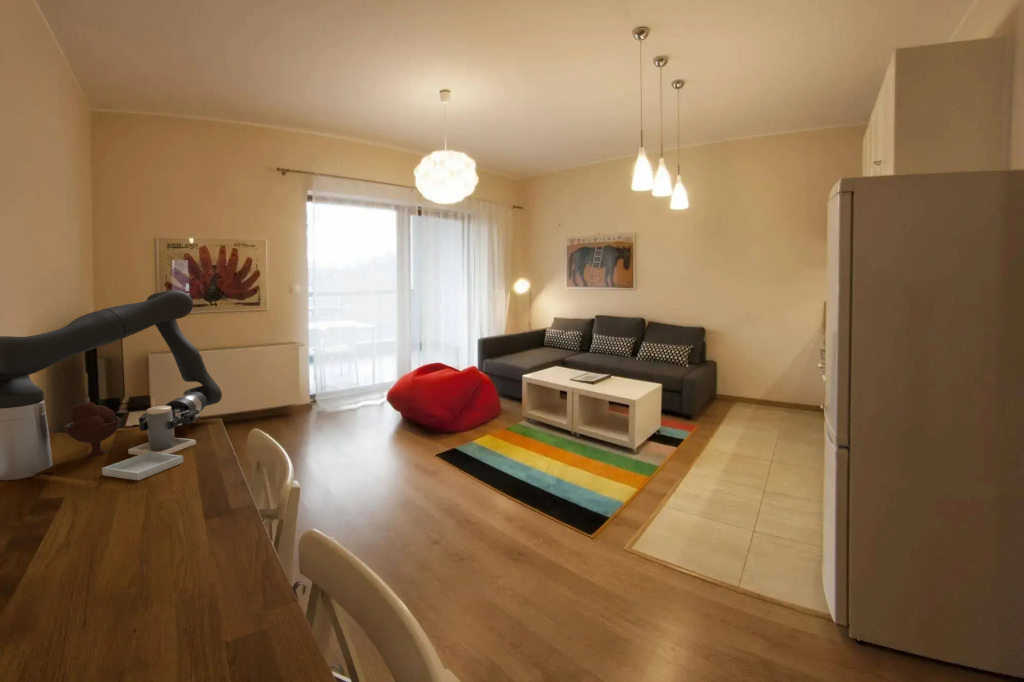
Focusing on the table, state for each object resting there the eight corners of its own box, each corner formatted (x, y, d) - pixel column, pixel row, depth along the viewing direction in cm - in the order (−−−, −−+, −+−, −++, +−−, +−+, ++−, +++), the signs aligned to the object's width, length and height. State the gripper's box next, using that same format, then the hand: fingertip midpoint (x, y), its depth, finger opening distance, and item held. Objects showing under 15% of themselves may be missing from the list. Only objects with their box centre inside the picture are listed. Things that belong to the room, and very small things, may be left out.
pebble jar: (144, 449, 122) (140, 410, 120) (164, 442, 127) (161, 404, 126) (160, 452, 120) (156, 411, 119) (180, 444, 126) (177, 406, 124)
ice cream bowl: (99, 465, 114) (93, 407, 112) (56, 464, 115) (49, 406, 113) (134, 449, 125) (129, 396, 123) (95, 449, 125) (89, 396, 123)
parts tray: (129, 456, 120) (128, 449, 120) (167, 443, 130) (166, 436, 130) (159, 460, 118) (158, 453, 117) (196, 446, 128) (195, 439, 127)
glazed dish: (102, 478, 107) (101, 468, 106) (150, 460, 117) (149, 451, 117) (138, 483, 104) (137, 473, 104) (183, 465, 115) (182, 455, 114)
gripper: (153, 398, 134) (122, 414, 118) (208, 395, 138) (186, 411, 122) (155, 423, 135) (125, 442, 119) (210, 419, 139) (188, 437, 123)
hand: (156, 426), depth 120 cm, fingers closed on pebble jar, 5 cm apart
